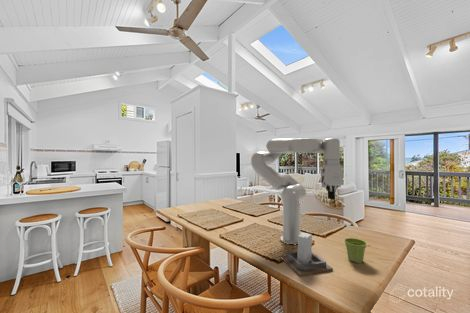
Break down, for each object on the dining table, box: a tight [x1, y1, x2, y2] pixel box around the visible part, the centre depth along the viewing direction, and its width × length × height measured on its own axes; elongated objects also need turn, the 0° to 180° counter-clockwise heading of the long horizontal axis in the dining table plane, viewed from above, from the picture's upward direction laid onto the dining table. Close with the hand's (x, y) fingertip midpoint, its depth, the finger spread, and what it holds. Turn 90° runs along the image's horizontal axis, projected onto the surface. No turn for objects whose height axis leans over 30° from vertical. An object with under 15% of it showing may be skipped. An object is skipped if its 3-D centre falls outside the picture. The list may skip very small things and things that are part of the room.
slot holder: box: [280, 251, 334, 277], centre depth 96 cm, size 16×16×3 cm
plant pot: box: [343, 237, 368, 264], centre depth 100 cm, size 9×9×9 cm
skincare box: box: [297, 232, 313, 264], centre depth 96 cm, size 6×4×12 cm
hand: (331, 198), depth 108 cm, fingers closed
